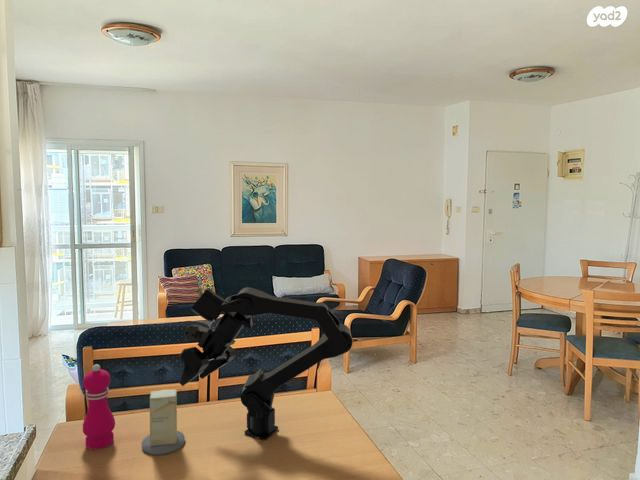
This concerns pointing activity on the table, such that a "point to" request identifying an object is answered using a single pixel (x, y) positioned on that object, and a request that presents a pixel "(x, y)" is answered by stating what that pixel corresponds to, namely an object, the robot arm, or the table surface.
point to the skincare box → (163, 417)
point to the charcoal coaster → (163, 446)
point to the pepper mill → (98, 410)
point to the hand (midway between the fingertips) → (191, 381)
